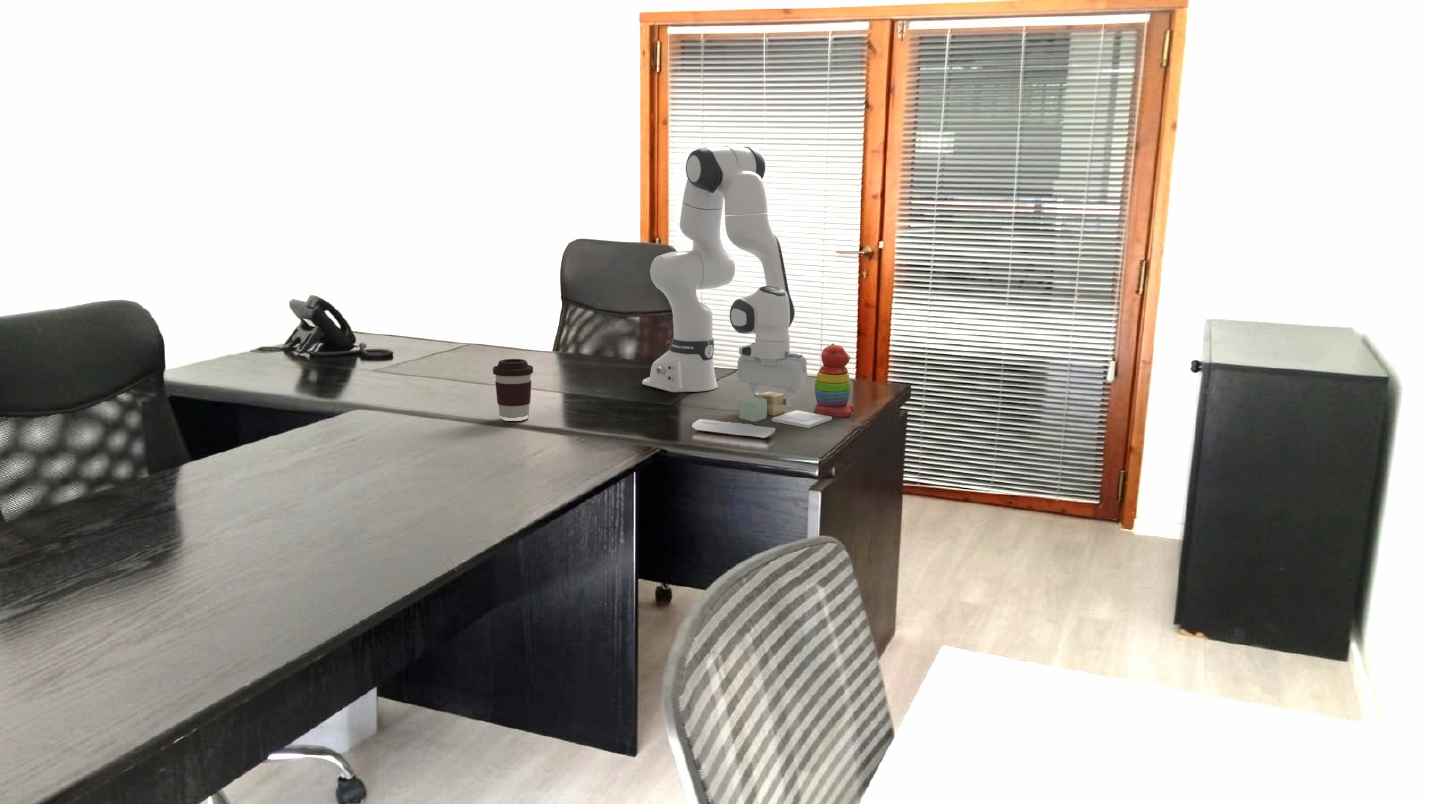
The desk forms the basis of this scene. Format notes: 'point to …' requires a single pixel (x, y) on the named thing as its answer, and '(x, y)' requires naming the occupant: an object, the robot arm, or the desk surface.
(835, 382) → the stacking bear
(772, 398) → the oak block
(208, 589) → the desk surface
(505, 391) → the coffee cup
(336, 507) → the desk surface
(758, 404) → the sage block
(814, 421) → the plate
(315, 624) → the desk surface
